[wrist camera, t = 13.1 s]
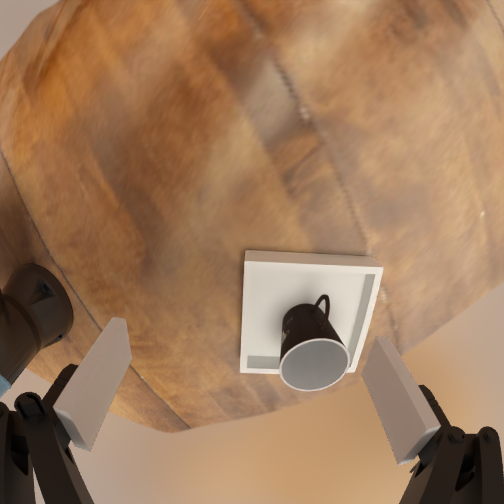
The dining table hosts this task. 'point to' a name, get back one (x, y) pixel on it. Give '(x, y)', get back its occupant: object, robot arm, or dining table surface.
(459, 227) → the dining table surface
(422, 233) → the dining table surface
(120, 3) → the dining table surface
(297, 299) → the white tray
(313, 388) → the coffee mug
